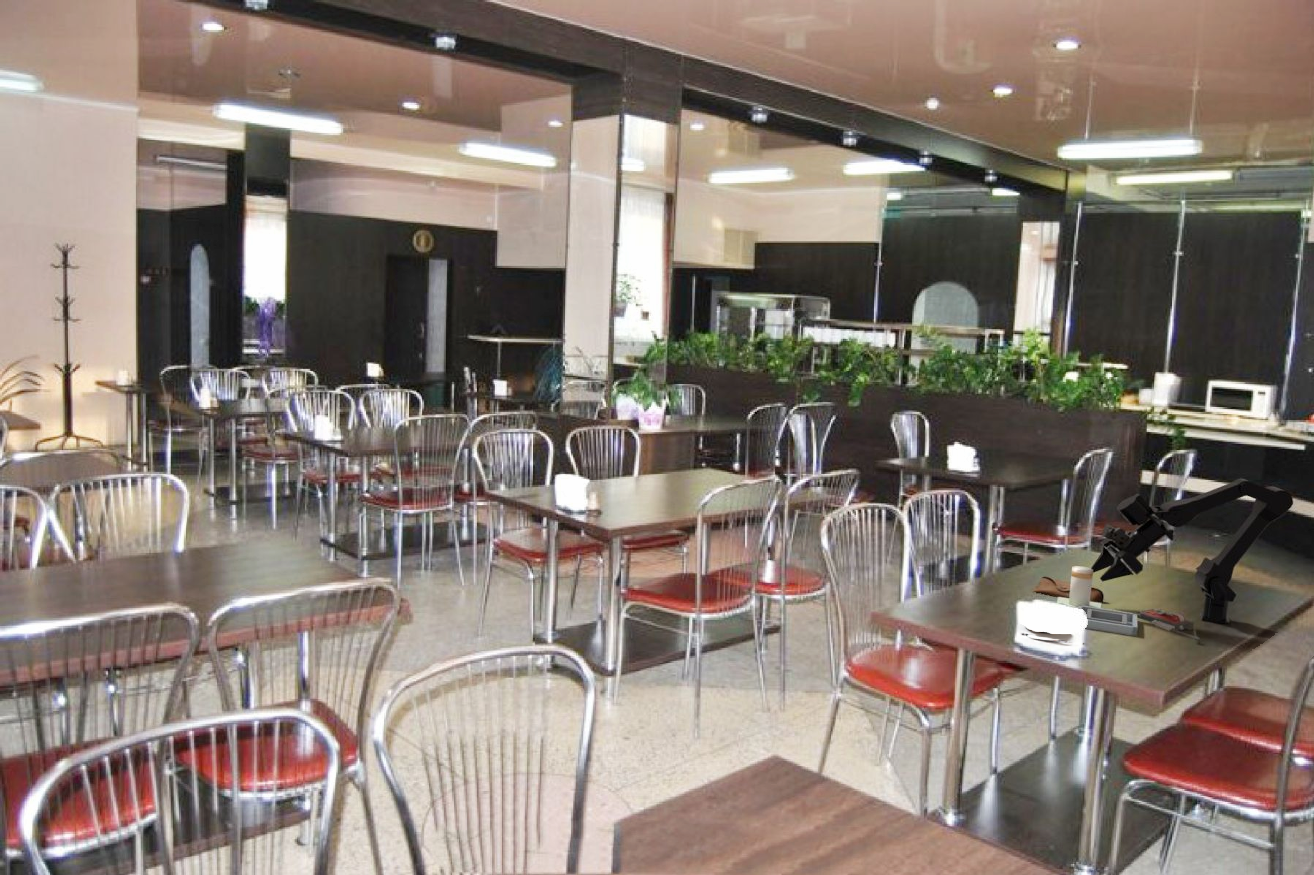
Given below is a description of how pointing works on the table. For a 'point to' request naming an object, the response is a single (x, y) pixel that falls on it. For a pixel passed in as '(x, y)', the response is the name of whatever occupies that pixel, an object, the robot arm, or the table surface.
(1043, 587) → the sunglasses case
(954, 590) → the table surface
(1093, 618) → the grey square tray
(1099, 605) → the mat
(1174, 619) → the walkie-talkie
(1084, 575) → the white banded cylinder
